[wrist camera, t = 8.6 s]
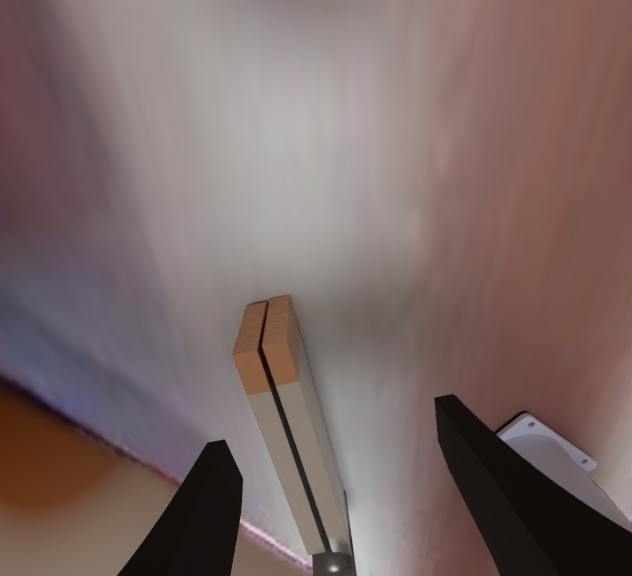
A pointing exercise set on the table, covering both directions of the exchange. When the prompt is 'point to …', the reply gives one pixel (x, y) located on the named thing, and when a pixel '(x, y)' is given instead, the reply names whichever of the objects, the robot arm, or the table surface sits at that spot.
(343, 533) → the tongs fixed arm
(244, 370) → the tongs moving arm
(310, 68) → the table surface
